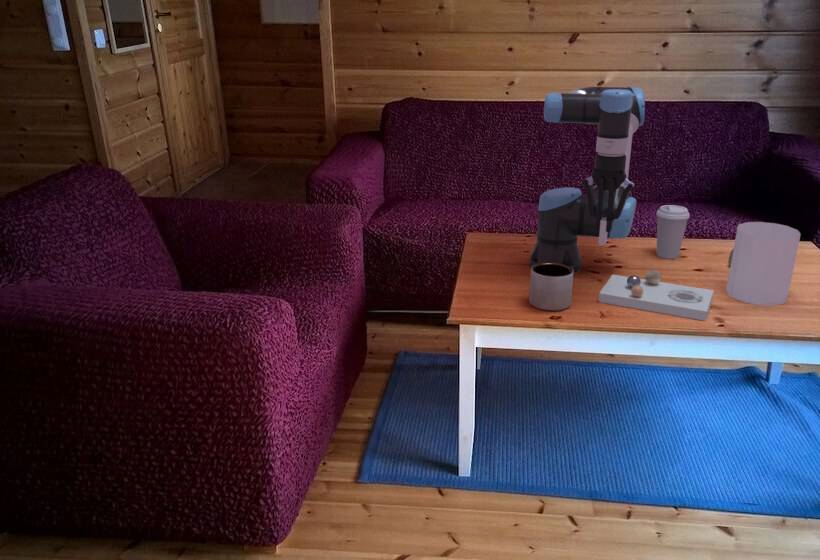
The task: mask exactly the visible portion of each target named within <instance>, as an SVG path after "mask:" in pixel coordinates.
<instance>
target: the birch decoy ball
mask: <svg viewBox="0 0 820 560" xmlns="http://www.w3.org/2000/svg"><path fill="white" fill-rule="evenodd" d="M644 278H645V279H644V280H646V281H647V282H648V283H649V284H657V283H658V282H661V279H662V274H661V272H660V271H659V270H657V269H654V268H653V269H649V270H648V271H647V272H646V273H645V276H644Z"/></svg>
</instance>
